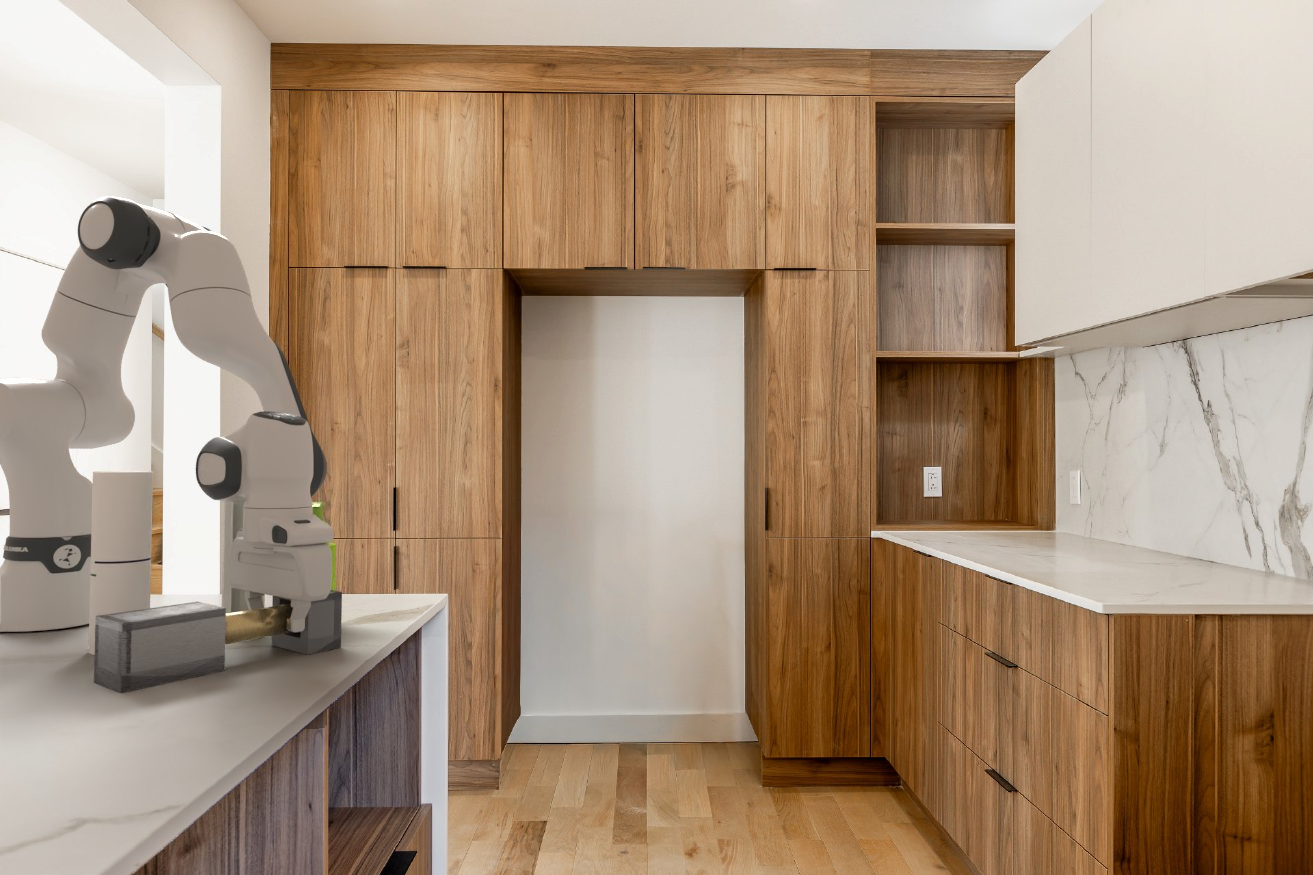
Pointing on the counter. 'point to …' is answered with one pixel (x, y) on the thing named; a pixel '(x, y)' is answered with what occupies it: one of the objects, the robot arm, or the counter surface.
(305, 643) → the dark socket block
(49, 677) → the counter surface
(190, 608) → the grey sleeve
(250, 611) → the brass slip tube
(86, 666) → the counter surface
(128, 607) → the cylindrical container
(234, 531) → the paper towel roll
